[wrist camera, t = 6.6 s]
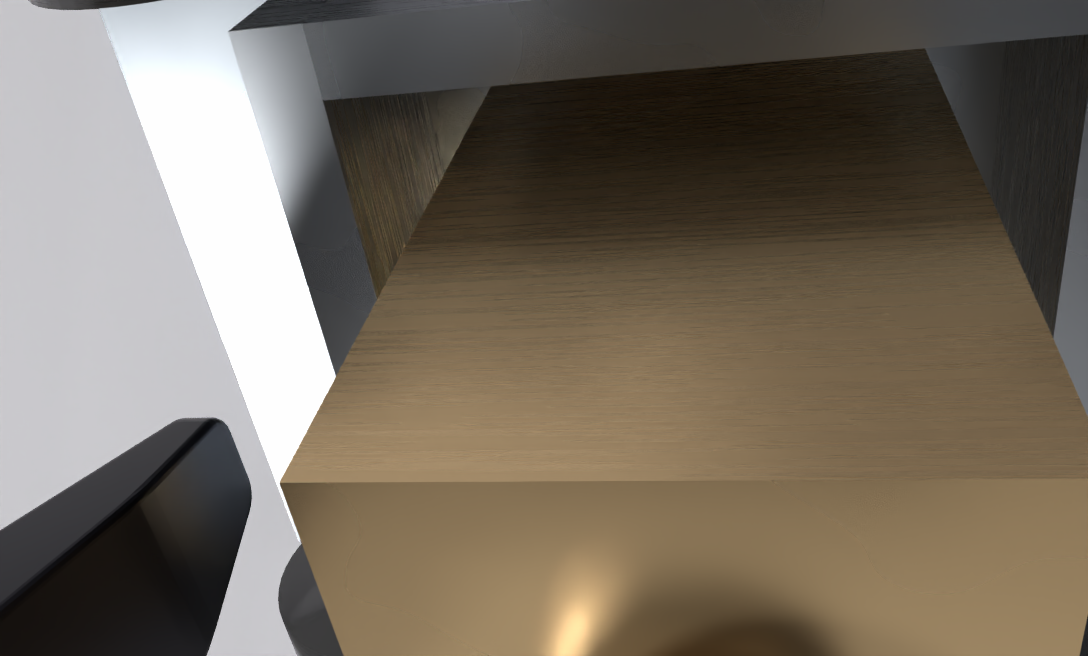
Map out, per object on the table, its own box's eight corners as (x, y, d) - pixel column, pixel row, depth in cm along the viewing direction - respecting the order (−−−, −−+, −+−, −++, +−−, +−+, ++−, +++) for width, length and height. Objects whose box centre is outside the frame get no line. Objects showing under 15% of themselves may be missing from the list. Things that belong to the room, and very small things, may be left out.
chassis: (1462, -402, 8) (1861, -414, 5) (1200, 558, 14) (1323, 807, 11) (86, -186, 11) (-157, -115, 8) (341, 550, 16) (255, 751, 13)
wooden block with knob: (919, 37, 10) (1176, 620, 4) (898, 455, 12) (1032, 1153, 7) (496, 74, 10) (215, 600, 5) (563, 458, 13) (433, 1080, 7)
